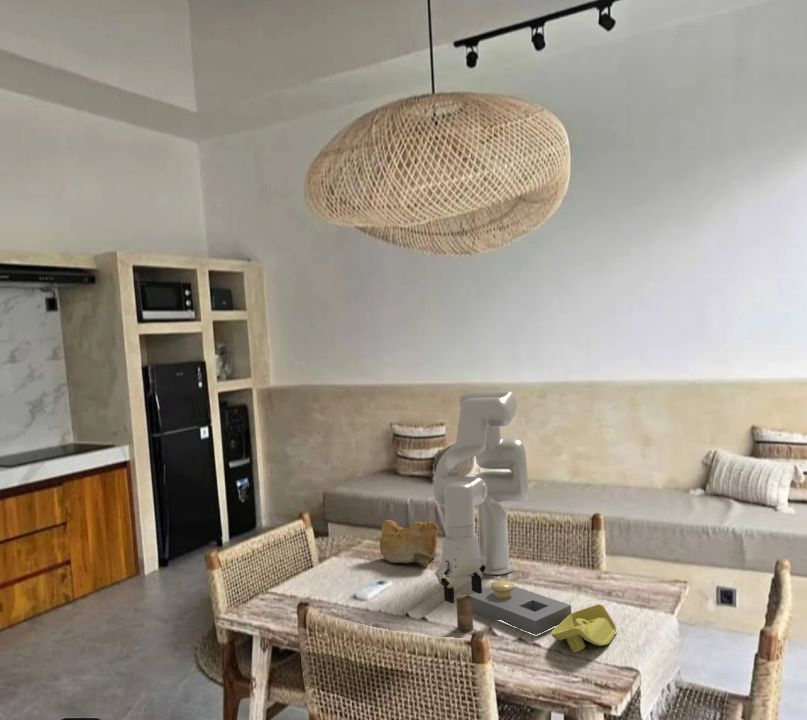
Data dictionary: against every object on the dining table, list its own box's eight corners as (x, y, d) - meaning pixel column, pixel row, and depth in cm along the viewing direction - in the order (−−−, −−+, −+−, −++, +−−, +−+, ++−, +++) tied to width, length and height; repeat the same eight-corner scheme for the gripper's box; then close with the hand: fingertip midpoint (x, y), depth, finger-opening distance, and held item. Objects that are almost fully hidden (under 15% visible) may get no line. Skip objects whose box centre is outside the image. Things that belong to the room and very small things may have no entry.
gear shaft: (454, 628, 173) (452, 597, 173) (465, 623, 176) (464, 593, 176) (465, 633, 170) (463, 602, 170) (476, 628, 173) (474, 597, 173)
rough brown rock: (459, 562, 228) (458, 517, 229) (430, 572, 215) (428, 525, 216) (406, 553, 243) (405, 511, 244) (375, 562, 230) (375, 518, 231)
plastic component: (571, 613, 174) (605, 601, 170) (584, 641, 172) (619, 630, 168) (544, 637, 157) (581, 625, 153) (558, 669, 155) (596, 658, 151)
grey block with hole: (468, 609, 185) (467, 585, 185) (503, 595, 194) (502, 572, 193) (536, 636, 166) (534, 609, 166) (571, 620, 175) (570, 594, 175)
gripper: (474, 522, 181) (477, 585, 181) (425, 534, 170) (428, 601, 170) (494, 526, 175) (497, 592, 175) (445, 540, 164) (448, 609, 164)
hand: (463, 596), depth 172 cm, fingers open, 9 cm apart
